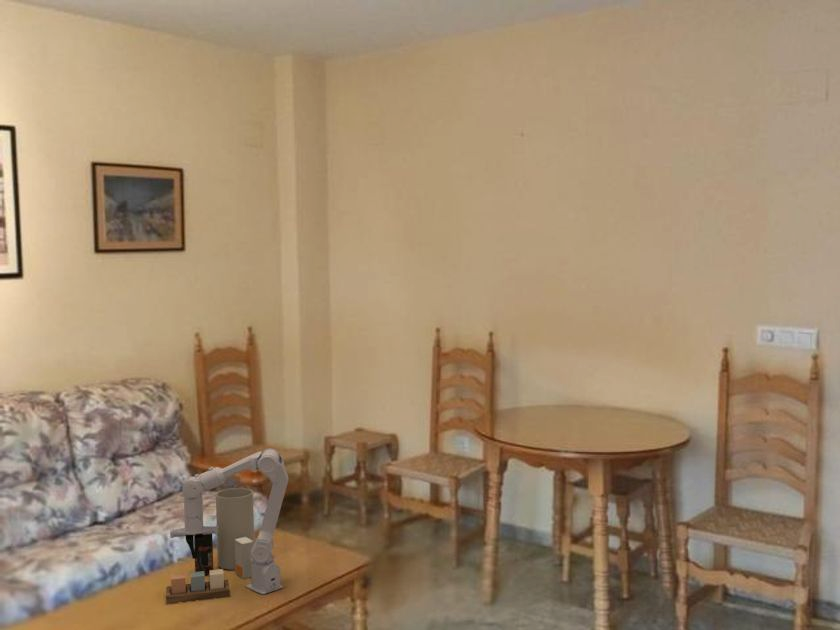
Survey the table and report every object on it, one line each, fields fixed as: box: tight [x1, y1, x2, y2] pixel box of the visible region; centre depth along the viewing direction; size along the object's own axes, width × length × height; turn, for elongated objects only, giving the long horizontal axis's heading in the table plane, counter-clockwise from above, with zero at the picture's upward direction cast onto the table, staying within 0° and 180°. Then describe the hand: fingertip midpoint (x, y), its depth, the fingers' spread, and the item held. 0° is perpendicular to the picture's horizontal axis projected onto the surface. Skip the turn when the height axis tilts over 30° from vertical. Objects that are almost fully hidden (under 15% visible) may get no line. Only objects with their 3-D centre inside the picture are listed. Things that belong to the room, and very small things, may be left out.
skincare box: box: [234, 537, 253, 580], centre depth 274 cm, size 6×4×12 cm
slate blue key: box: [190, 571, 206, 592], centre depth 258 cm, size 4×4×5 cm
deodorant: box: [194, 534, 214, 577], centre depth 277 cm, size 6×6×15 cm
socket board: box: [165, 579, 231, 605], centre depth 259 cm, size 9×19×2 cm, turn 106°
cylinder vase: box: [215, 487, 255, 571], centre depth 285 cm, size 12×12×25 cm
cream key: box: [208, 568, 225, 590], centre depth 260 cm, size 4×4×5 cm
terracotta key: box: [170, 573, 187, 594], centre depth 257 cm, size 4×4×5 cm
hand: (194, 557), depth 262 cm, fingers closed
